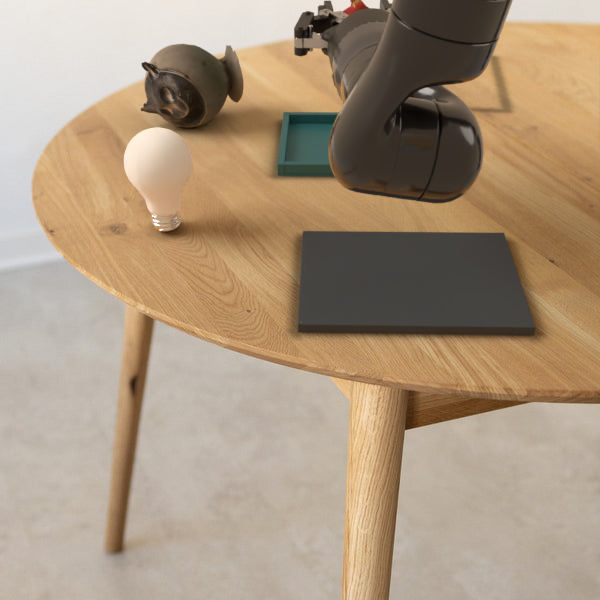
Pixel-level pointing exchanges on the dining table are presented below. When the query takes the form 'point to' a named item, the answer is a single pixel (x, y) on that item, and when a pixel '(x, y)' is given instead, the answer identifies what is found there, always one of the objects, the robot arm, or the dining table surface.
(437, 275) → the mat
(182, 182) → the light bulb
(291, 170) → the tray
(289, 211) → the dining table surface
